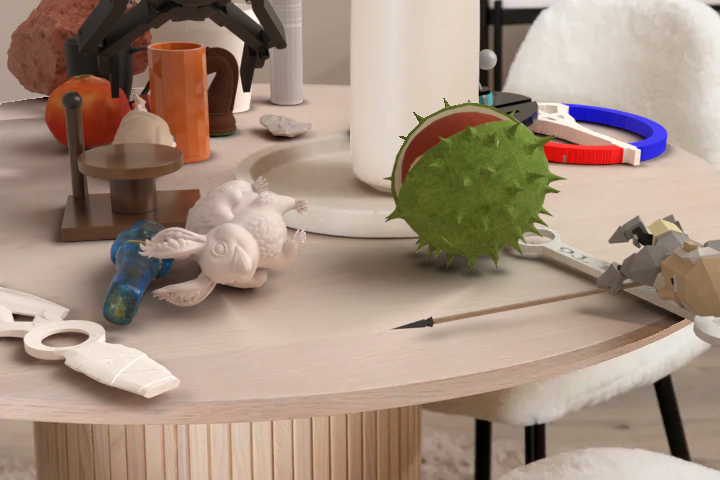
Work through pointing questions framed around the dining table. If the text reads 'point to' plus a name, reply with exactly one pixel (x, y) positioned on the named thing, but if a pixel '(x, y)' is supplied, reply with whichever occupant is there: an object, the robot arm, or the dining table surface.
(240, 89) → the foam cup
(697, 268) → the toy
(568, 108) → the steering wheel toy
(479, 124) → the chestnut
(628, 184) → the dining table surface
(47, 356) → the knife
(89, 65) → the mug
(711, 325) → the wrench
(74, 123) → the cup stand
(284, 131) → the stone
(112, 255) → the figurine
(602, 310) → the dining table surface
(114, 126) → the tomato
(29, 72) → the rock
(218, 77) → the chess piece
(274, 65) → the bottle
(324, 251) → the dining table surface
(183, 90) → the cup
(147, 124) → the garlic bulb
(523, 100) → the platform
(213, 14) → the robot arm
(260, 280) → the figurine
